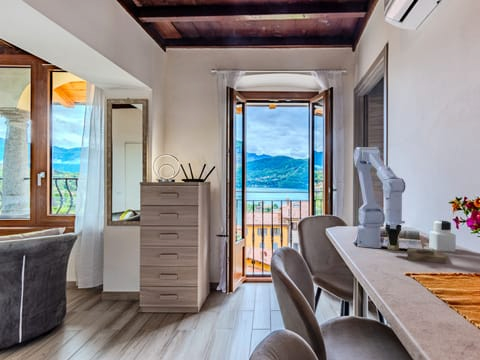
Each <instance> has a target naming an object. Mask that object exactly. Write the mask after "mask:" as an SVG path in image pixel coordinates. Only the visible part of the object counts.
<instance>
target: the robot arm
mask: <svg viewBox="0 0 480 360" xmlns="http://www.w3.org/2000/svg"><path fill="white" fill-rule="evenodd" d="M352 156H353V162H354V167H355V168H357V173H358V178H359V185H360V189H361V196H362V197H361V198H362V202H363V204H362V205H361V206H360V207H359V208H358V218H357V219H358V223H360V224H359V225H357V238H356V239H357V245H356V246H357V247H364V248H373V249H374V248H375V249H381V248H382V243H381V227H383V225H384V223H385V226H384V229H385V232H386V233H387V238H388V237H389V243H390V245H391V246H396V245H397V240H398V236H399V237H400V234H401V231H402V224H406V221H405V220H403V219H402V218H403V216H402V215H403V214H402V213H403V193H404V192H405V190H406V181H405V180H404V178H401V177H397V175H396V173H394V171H393V170H392V169H391V167H390V166H388V165H385V163H384V162H383V160H382V158H381V151H380V149H379V147H378V146H373V147H365V146H363V147H360V146H357V147H355V149H354V150H353V155H352ZM371 168H374V169H375V170H376V176H377V177H378V179H379V181H380V182H381V183H382V191H383V196H384V198H385V212H384V210H383V207H382V206H381V205H379V204H378V203H377V202H376V197H375V191H374V185H373V180H372V174H371Z"/></svg>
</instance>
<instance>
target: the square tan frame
mask: <svg viewBox="0 0 480 360" xmlns="http://www.w3.org/2000/svg"><path fill="white" fill-rule="evenodd" d="M406 251H407V253H406V254H407V260H408V261H417V262H426V263H436V264H447V257H446V256H445V253H444V252H443V251H442V250H434V249H432V248H430V249H429V248H419V247H417V248H416V247H407V250H406Z"/></svg>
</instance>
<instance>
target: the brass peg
mask: <svg viewBox="0 0 480 360" xmlns="http://www.w3.org/2000/svg"><path fill="white" fill-rule="evenodd" d="M387 249H388V250H393V251H396V250H397V251H398V250H400V235H399V236H398V240H397V245H396V246H391V245H390V243H389V237H388V236H387Z"/></svg>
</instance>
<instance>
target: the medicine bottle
mask: <svg viewBox="0 0 480 360" xmlns="http://www.w3.org/2000/svg"><path fill="white" fill-rule="evenodd" d="M451 230H452V223H451V222H449V221H448V220H434V221H433V230H430V231H429V232H428V233H429V236H428V237H429V239H428V240H429V242H428V243H429V244H428V245H429V246H428V247H429V248H430V249H431V250H442V251H443V253H444V252H446V253H447V252H448V253H449V252H452V253H455V252H456V248H457V247H456V246H457V245H456V242H457V241H456V240H457V239H456V238H457V237H456V236H457V235H456V234H455V233H452V232H451Z"/></svg>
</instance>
